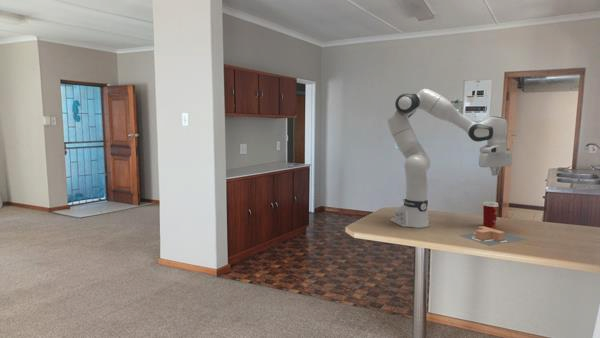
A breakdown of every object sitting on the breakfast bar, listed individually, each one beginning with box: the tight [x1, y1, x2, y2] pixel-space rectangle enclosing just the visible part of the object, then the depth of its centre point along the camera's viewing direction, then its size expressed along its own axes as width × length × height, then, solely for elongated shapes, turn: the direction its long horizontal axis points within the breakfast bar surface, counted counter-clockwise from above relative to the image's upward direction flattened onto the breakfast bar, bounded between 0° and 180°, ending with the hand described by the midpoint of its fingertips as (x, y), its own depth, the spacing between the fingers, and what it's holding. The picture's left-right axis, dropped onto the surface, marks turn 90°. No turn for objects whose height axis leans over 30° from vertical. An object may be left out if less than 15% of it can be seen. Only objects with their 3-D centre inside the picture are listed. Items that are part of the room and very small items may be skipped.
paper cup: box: [482, 200, 499, 229], centre depth 216 cm, size 8×8×14 cm
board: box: [458, 232, 526, 246], centre depth 197 cm, size 18×25×1 cm
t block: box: [474, 225, 506, 242], centre depth 194 cm, size 12×10×4 cm
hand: (494, 175), depth 208 cm, fingers closed
